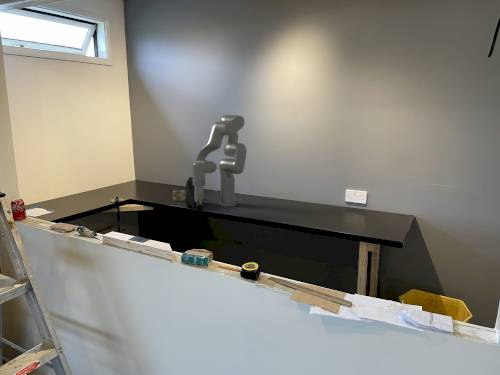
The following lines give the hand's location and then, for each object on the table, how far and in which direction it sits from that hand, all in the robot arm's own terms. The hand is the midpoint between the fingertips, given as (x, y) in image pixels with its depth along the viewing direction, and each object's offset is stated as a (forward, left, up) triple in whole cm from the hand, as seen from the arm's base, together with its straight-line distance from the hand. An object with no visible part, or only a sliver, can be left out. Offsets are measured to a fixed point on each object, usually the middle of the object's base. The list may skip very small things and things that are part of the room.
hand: (199, 211), depth 216 cm
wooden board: (+5, -35, -2) cm, 36 cm away
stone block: (0, -20, -2) cm, 21 cm away
